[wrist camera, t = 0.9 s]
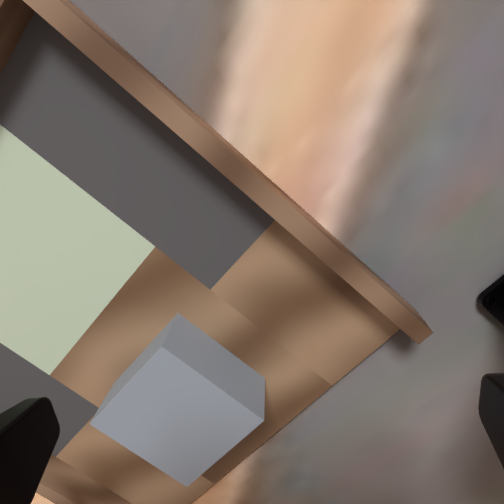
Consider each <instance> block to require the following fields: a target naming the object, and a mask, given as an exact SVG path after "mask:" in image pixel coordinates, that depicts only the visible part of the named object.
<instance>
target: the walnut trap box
mask: <svg viewBox="0 0 504 504" xmlns="http://www.w3.org/2000/svg"><path fill="white" fill-rule="evenodd" d="M34 12H37V13H38V14H39V15H40V16H41V17H42V18H43V19H45V20H46V21H47V22H48V23H49V24H50V25H52V26H53V27H54V28H55V29H56V30H57V31H58V32H60V33H61V34H62V35H63V36H64V37H65V38H66V39H68V40H69V41H70V42H71V43H72V44H73V45H75V46H76V47H77V48H78V49H79V50H80V51H81V52H83V53H84V54H85V55H86V56H87V57H88V58H90V59H91V60H92V61H93V62H94V63H95V64H96V65H98V66H99V67H100V68H101V69H102V70H103V71H104V72H106V73H107V74H108V75H109V76H110V77H111V78H113V79H114V80H115V81H116V82H117V83H118V84H119V85H121V86H122V87H123V88H124V89H125V90H126V91H127V92H129V93H130V94H131V95H132V96H133V97H134V98H136V99H137V100H138V101H139V102H140V103H141V104H142V105H144V106H145V107H146V108H147V109H148V110H149V111H150V112H152V113H153V114H154V115H155V116H156V117H157V118H159V119H160V120H161V121H162V122H163V123H164V124H165V125H167V126H168V127H169V128H170V129H171V130H172V131H173V132H175V133H176V134H177V135H178V136H179V137H180V138H182V139H183V140H184V141H185V142H186V143H187V144H188V145H190V146H191V147H192V148H193V149H194V150H195V151H196V152H198V153H199V154H200V155H201V156H202V157H203V158H205V159H206V160H207V161H208V162H209V163H210V164H211V165H213V166H214V167H215V168H216V169H217V170H218V171H220V172H221V173H222V174H223V175H224V176H225V177H226V178H228V179H229V180H230V181H231V182H232V183H233V184H234V185H236V186H237V187H238V188H239V189H240V190H241V191H243V192H244V193H245V194H246V195H247V196H248V197H249V198H251V199H252V200H253V201H254V202H255V203H256V204H257V205H259V206H260V207H261V208H262V209H263V210H264V211H266V212H267V213H268V214H269V215H270V216H271V217H272V218H274V219H275V220H274V222H273V223H272V224H271V225H270V226H269V227H268V228H267V229H266V230H265V231H264V232H263V233H262V235H261V236H260V237H259V238H258V239H257V240H256V241H255V242H254V243H253V244H252V245H251V246H250V247H249V249H248V250H247V251H246V252H245V253H244V254H243V255H242V256H241V257H240V258H239V259H238V260H237V262H236V263H235V264H234V265H233V266H232V267H231V268H230V269H229V270H228V271H227V272H226V273H225V274H224V276H223V277H222V278H221V279H220V280H219V281H218V282H217V283H216V284H215V285H214V286H213V287H212V289H211V290H210V289H209V288H207V287H206V286H205V285H204V284H202V283H201V282H200V281H199V280H197V279H196V278H195V277H193V276H192V275H191V274H190V273H188V272H187V271H186V270H185V269H183V268H182V267H181V266H179V265H178V264H177V263H176V262H174V261H173V260H172V259H171V258H169V257H168V256H167V255H165V254H164V253H163V252H162V251H160V250H159V249H158V248H157V247H155V248H154V249H153V250H152V251H151V252H150V254H149V255H148V256H147V257H146V258H145V260H144V261H143V262H142V263H141V265H140V266H139V267H138V268H137V269H136V271H135V272H134V273H133V274H132V276H131V277H130V278H129V279H128V280H127V282H126V283H125V284H124V285H123V286H122V288H121V289H120V290H119V291H118V293H117V294H116V295H115V296H114V297H113V299H112V300H111V301H110V302H109V304H108V305H107V306H106V307H105V308H104V310H103V311H102V312H101V313H100V314H99V316H98V317H97V318H96V319H95V321H94V322H93V323H92V324H91V325H90V327H89V328H88V329H87V330H86V332H85V333H84V334H83V335H82V336H81V338H80V339H79V340H78V341H77V342H76V344H75V345H74V346H73V347H72V349H71V350H70V351H69V352H68V353H67V355H66V356H65V357H64V358H63V360H62V361H61V362H60V363H59V364H58V366H57V367H56V368H55V369H54V370H53V372H52V373H51V374H50V376H51V377H53V378H54V379H56V380H57V381H59V382H60V383H62V384H64V385H65V386H67V387H68V388H70V389H71V390H73V391H74V392H76V393H77V394H79V395H80V396H82V397H83V398H85V399H86V400H88V401H89V402H91V403H92V404H94V405H95V406H97V407H98V408H99V407H100V405H101V404H102V402H103V400H104V399H105V397H106V395H107V394H108V392H109V390H110V389H111V387H112V385H113V384H114V382H115V381H116V380H117V379H118V378H119V377H120V376H121V375H122V373H123V372H124V371H125V370H126V369H127V368H128V367H129V366H130V365H131V364H132V362H133V361H134V360H135V359H136V358H137V357H138V356H139V355H140V354H141V353H142V352H143V350H144V349H145V348H146V347H147V346H148V345H149V344H150V343H151V342H152V341H153V339H154V338H155V337H156V336H157V335H158V334H159V333H160V332H161V331H162V330H163V329H164V327H165V326H166V325H167V324H168V323H169V322H170V321H171V320H172V319H173V318H174V316H175V315H176V314H177V313H179V314H181V315H182V316H183V317H184V318H186V319H187V320H188V321H190V322H191V323H192V324H194V325H195V326H196V327H198V328H199V329H200V330H202V331H203V332H204V333H206V334H207V335H208V336H210V337H211V338H212V339H214V340H215V341H216V342H218V343H219V344H220V345H222V346H223V347H224V348H226V349H227V350H228V351H230V352H231V353H232V354H233V355H235V356H236V357H237V358H239V359H240V360H241V361H243V362H244V363H245V364H247V365H248V366H249V367H251V368H252V369H253V370H255V371H256V372H257V373H259V374H260V375H261V376H263V377H264V378H265V406H264V421H263V422H262V423H261V424H260V425H259V426H257V427H256V428H255V429H254V430H253V431H252V432H250V433H249V434H248V435H247V436H246V437H245V438H243V439H242V440H241V441H240V442H239V443H238V444H236V445H235V446H234V447H233V448H232V449H231V450H229V451H228V452H227V453H226V454H225V455H224V456H223V457H221V458H220V459H219V460H218V461H217V462H216V463H214V464H213V465H212V466H211V467H210V468H209V469H207V470H206V471H205V472H204V473H203V474H202V475H200V476H199V477H198V478H197V479H196V480H195V481H193V482H192V483H191V484H190V485H189V486H188V487H186V486H184V485H183V484H181V483H180V482H178V481H177V480H175V479H174V478H172V477H170V476H169V475H167V474H166V473H164V472H163V471H161V470H160V469H158V468H157V467H155V466H153V465H152V464H150V463H149V462H147V461H146V460H144V459H143V458H141V457H140V456H138V455H136V454H135V453H133V452H132V451H130V450H129V449H127V448H126V447H124V446H123V445H121V444H119V443H118V442H116V441H115V440H113V439H112V438H110V437H109V436H107V435H106V434H104V433H102V432H101V431H99V430H98V429H96V428H95V427H93V426H92V425H90V422H91V420H92V419H93V417H94V416H93V417H92V418H91V419H90V420H89V421H88V422H87V423H86V425H85V426H84V427H83V428H82V429H81V430H80V431H79V432H78V433H77V434H76V435H75V436H74V438H73V439H72V440H71V441H70V442H69V443H68V444H67V445H66V446H65V447H64V448H63V449H62V450H61V452H60V453H59V454H58V455H57V456H56V457H55V456H54V455H51V457H50V460H49V462H48V464H47V467H46V469H45V472H44V474H43V476H42V479H41V481H40V483H39V486H38V488H37V491H36V493H38V494H40V495H41V496H43V497H45V498H47V499H48V500H50V501H52V502H53V503H55V504H191V503H192V502H193V501H195V500H196V499H197V498H198V497H199V496H201V495H202V494H203V493H204V492H205V491H207V490H208V489H209V488H210V487H211V486H213V485H214V484H215V483H216V482H217V481H219V480H220V479H221V478H222V477H223V476H225V475H226V474H227V473H228V472H229V471H231V470H232V469H233V468H234V467H235V466H237V465H238V464H239V463H240V462H241V461H243V460H244V459H245V458H246V457H247V456H249V455H250V454H251V453H252V452H253V451H255V450H256V449H257V448H258V447H259V446H261V445H262V444H263V443H264V442H265V441H267V440H268V439H269V438H270V437H271V436H273V435H274V434H275V433H276V432H277V431H279V430H280V429H281V428H282V427H283V426H285V425H286V424H287V423H288V422H289V421H291V420H292V419H293V418H294V417H296V416H297V415H298V414H299V413H300V412H302V411H303V410H304V409H305V408H306V407H308V406H309V405H310V404H311V403H312V402H314V401H315V400H316V399H317V398H318V397H320V396H321V395H322V394H323V393H324V392H326V391H327V390H328V389H329V388H330V387H332V386H333V385H334V384H335V383H336V382H338V381H339V380H340V379H341V378H342V377H344V376H345V375H346V374H347V373H348V372H350V371H351V370H352V369H353V368H354V367H356V366H357V365H358V364H359V363H360V362H362V361H363V360H364V359H365V358H366V357H368V356H369V355H370V354H371V353H372V352H374V351H375V350H376V349H377V348H378V347H380V346H381V345H382V344H383V343H384V342H386V341H387V340H388V339H389V338H390V337H392V336H393V335H394V334H395V333H396V332H398V331H399V330H400V329H401V330H402V331H404V332H405V333H406V334H407V335H408V336H409V337H410V338H412V339H413V340H414V341H415V342H416V343H417V344H420V343H421V342H422V341H423V340H425V339H426V338H427V337H428V336H430V335H431V334H432V333H433V332H432V330H431V329H430V328H429V326H428V325H427V324H426V323H425V321H424V320H423V319H422V317H421V316H420V315H419V313H418V312H417V311H416V310H415V309H414V308H413V307H412V306H411V305H410V304H409V303H408V302H406V301H405V300H404V299H403V298H402V297H401V296H400V295H399V294H397V293H396V292H395V291H394V290H393V289H392V288H391V287H390V286H389V285H387V284H386V283H385V282H384V281H383V280H382V279H381V278H380V277H378V276H377V275H376V274H375V273H374V272H373V271H372V270H371V269H370V268H368V267H367V266H366V265H365V264H364V263H363V262H362V261H361V260H359V259H358V258H357V257H356V256H355V255H354V254H353V253H352V252H350V251H349V250H348V249H347V248H346V247H345V246H344V245H343V244H342V243H340V242H339V241H338V240H337V239H336V238H335V237H334V236H333V235H331V234H330V233H329V232H328V231H327V230H326V229H325V228H324V227H323V226H321V225H320V224H319V223H318V222H317V221H316V220H315V219H314V218H312V217H311V216H310V215H309V214H308V213H307V212H306V211H305V210H303V209H302V208H301V207H300V206H299V205H298V204H297V203H296V202H295V201H293V200H292V199H291V198H290V197H289V196H288V195H287V194H286V193H284V192H283V191H282V190H281V189H280V188H279V187H278V186H277V185H276V184H274V183H273V182H272V181H271V180H270V179H269V178H268V177H267V176H265V175H264V174H263V173H262V172H261V171H260V170H259V169H258V168H256V167H255V166H254V165H253V164H252V163H251V162H250V161H249V160H248V159H246V158H245V157H244V156H243V155H242V154H241V153H240V152H239V151H237V150H236V149H235V148H234V147H233V146H232V145H231V144H230V143H229V142H227V141H226V140H225V139H224V138H223V137H222V136H221V135H220V134H218V133H217V132H216V131H215V130H214V129H213V128H212V127H211V126H210V125H208V124H207V123H206V122H205V121H204V120H203V119H202V118H201V117H199V116H198V115H197V114H196V113H195V112H194V111H193V110H192V109H190V108H189V107H188V106H187V105H186V104H185V103H184V102H183V101H182V100H180V99H179V98H178V97H177V96H176V95H175V94H174V93H173V92H171V91H170V90H169V89H168V88H167V87H166V86H165V85H164V84H163V83H161V82H160V81H159V80H158V79H157V78H156V77H155V76H154V75H152V74H151V73H150V72H149V71H148V70H147V69H146V68H145V67H143V66H142V65H141V64H140V63H139V62H138V61H137V60H136V59H135V58H133V57H132V56H131V55H130V54H129V53H128V52H127V51H126V50H124V49H123V48H122V47H121V46H120V45H119V44H118V43H117V42H116V41H114V40H113V39H112V38H111V37H110V36H109V35H108V34H107V33H105V32H104V31H103V30H102V29H101V28H100V27H99V26H98V25H96V24H95V23H94V22H93V21H92V20H91V19H90V18H89V17H88V16H86V15H85V14H84V13H83V12H82V11H81V10H80V9H79V8H77V7H76V6H75V5H74V4H73V3H72V2H71V1H70V0H0V74H1V73H2V71H3V69H4V67H5V65H6V63H7V62H8V60H9V58H10V56H11V54H12V52H13V51H14V49H15V47H16V45H17V43H18V41H19V40H20V38H21V36H22V34H23V32H24V31H25V29H26V27H27V25H28V23H29V21H30V20H31V18H32V16H33V14H34Z"/></svg>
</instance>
